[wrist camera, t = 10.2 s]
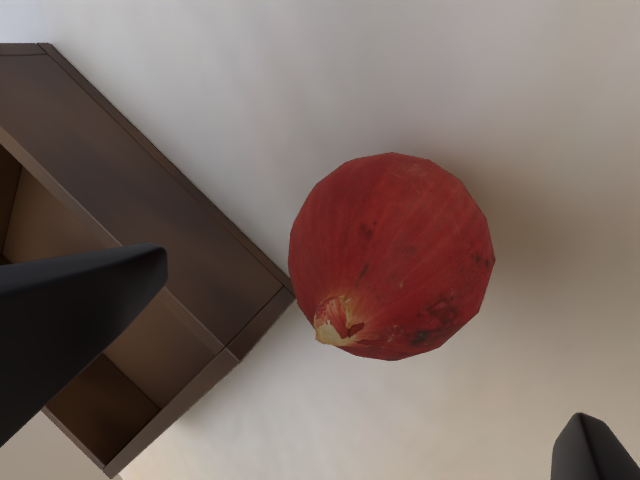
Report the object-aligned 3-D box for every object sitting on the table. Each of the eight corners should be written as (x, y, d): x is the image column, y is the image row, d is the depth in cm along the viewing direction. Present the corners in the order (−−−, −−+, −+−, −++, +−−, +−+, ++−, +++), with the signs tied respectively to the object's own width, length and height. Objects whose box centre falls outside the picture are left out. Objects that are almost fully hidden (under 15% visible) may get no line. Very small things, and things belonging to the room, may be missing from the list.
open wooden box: (302, 291, 19) (241, 362, 15) (171, 415, 28) (110, 480, 24) (48, 42, 19) (-85, 42, 15) (1, 248, 28) (-88, 284, 24)
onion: (537, 197, 13) (557, 351, 7) (432, 306, 16) (375, 483, 10) (390, 99, 14) (276, 151, 7) (316, 222, 17) (190, 336, 10)
